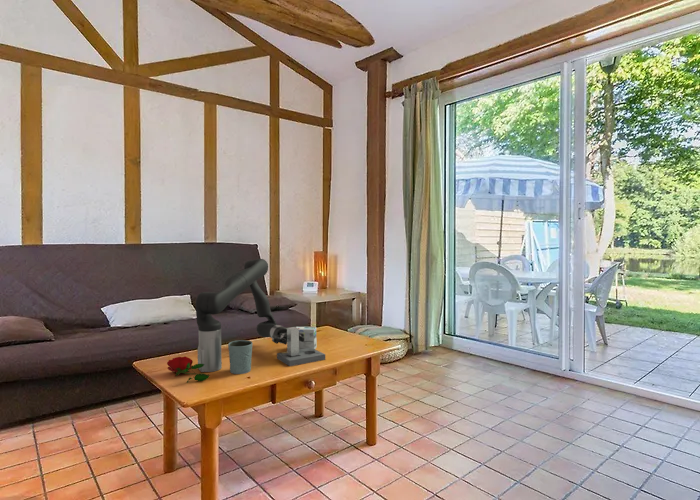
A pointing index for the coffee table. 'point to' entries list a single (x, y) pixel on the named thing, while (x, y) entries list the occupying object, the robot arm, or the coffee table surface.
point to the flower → (186, 367)
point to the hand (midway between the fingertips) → (294, 340)
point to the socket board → (301, 357)
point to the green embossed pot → (240, 356)
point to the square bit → (292, 342)
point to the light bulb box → (308, 337)
